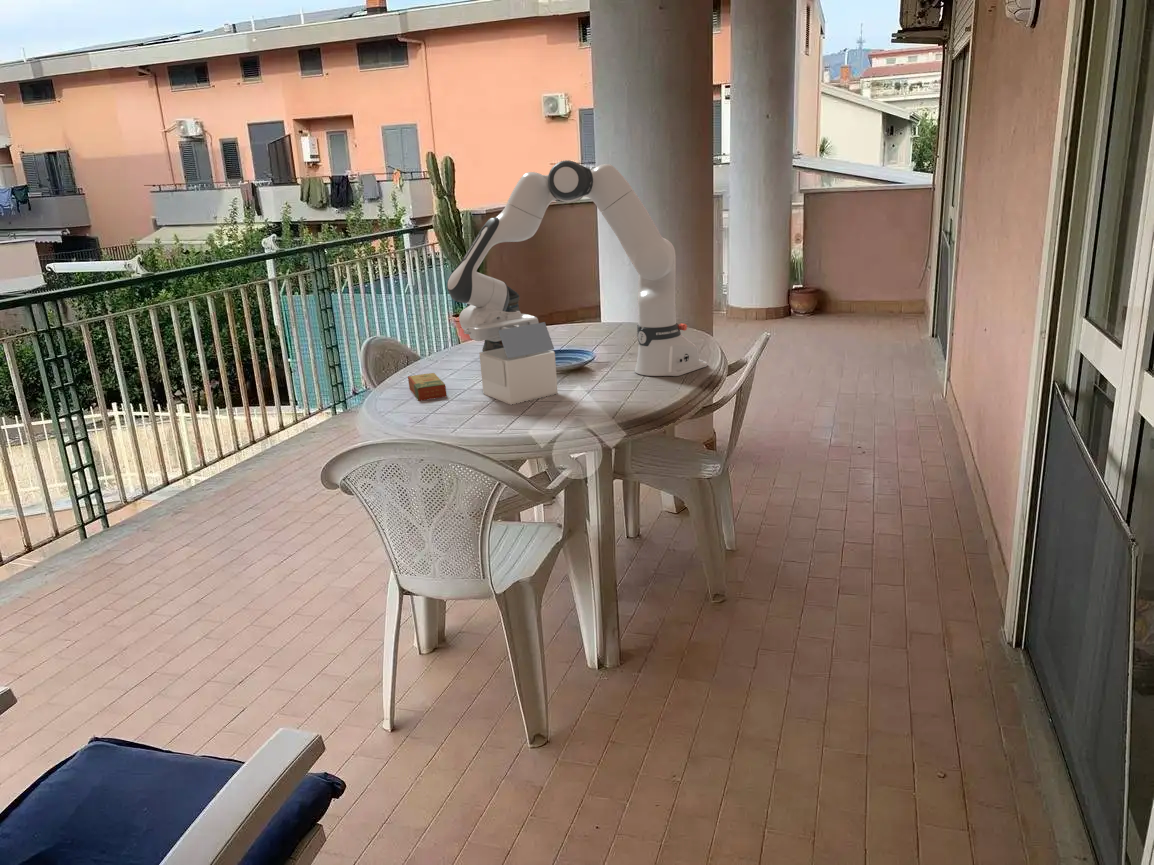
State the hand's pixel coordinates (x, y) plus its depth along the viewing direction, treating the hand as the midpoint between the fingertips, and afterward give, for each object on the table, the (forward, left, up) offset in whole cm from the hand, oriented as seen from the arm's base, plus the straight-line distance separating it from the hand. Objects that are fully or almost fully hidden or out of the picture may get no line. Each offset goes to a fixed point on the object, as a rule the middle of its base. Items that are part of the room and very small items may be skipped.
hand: (517, 331), depth 226 cm
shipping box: (0, -1, -18) cm, 18 cm away
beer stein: (-19, -46, -18) cm, 53 cm away
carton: (+19, -23, -19) cm, 35 cm away
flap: (0, +5, -2) cm, 5 cm away
